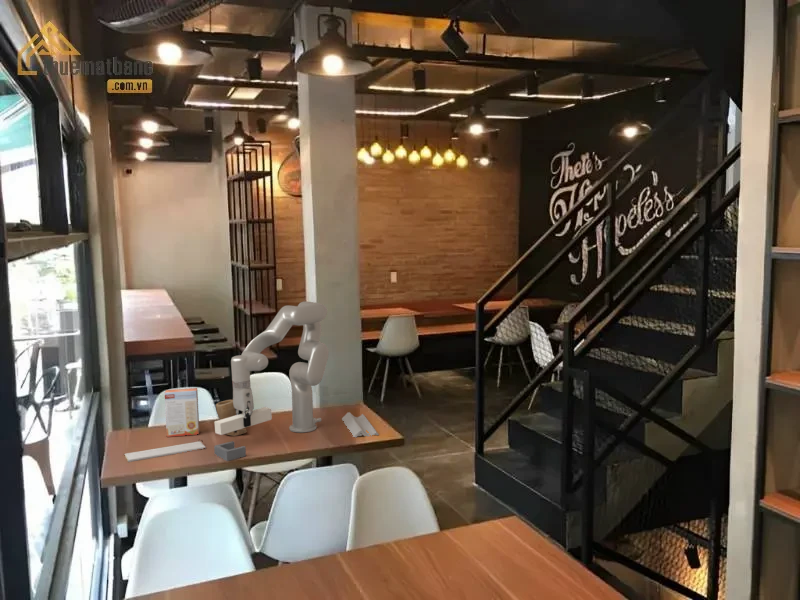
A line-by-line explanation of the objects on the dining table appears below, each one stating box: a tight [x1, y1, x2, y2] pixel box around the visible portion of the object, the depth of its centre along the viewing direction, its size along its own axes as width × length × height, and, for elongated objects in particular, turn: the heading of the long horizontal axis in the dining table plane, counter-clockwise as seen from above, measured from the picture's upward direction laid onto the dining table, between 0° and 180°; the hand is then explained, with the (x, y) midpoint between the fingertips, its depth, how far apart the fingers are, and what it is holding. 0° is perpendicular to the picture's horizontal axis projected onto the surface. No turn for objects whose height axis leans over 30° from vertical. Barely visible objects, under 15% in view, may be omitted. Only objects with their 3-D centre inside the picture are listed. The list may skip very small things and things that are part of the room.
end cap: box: [213, 440, 247, 462], centre depth 272 cm, size 8×10×4 cm
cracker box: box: [164, 387, 200, 438], centre depth 301 cm, size 14×6×21 cm, turn 103°
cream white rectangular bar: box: [214, 406, 273, 436], centre depth 286 cm, size 26×4×5 cm, turn 138°
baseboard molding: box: [123, 439, 206, 463], centre depth 278 cm, size 31×3×12 cm
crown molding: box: [341, 411, 380, 438], centre depth 312 cm, size 31×12×4 cm, turn 15°
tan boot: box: [215, 399, 247, 437], centre depth 303 cm, size 15×12×15 cm
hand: (244, 424), depth 286 cm, fingers closed on cream white rectangular bar, 4 cm apart
